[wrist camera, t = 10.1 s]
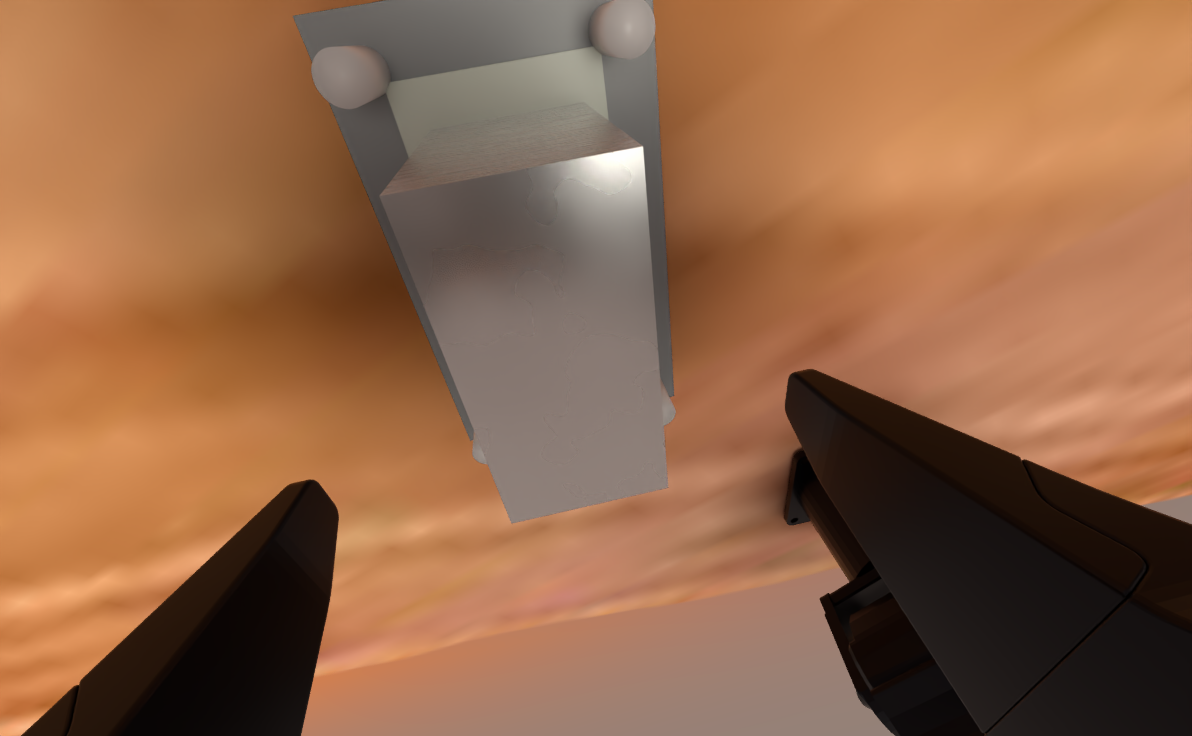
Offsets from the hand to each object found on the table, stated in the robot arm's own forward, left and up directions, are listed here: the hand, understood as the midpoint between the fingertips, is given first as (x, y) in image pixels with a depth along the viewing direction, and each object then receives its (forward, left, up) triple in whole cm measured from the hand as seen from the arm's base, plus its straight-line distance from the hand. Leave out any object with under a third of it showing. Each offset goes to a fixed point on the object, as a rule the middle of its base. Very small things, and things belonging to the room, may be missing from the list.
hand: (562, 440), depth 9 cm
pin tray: (0, 0, -11) cm, 11 cm away
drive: (0, 0, -9) cm, 9 cm away
